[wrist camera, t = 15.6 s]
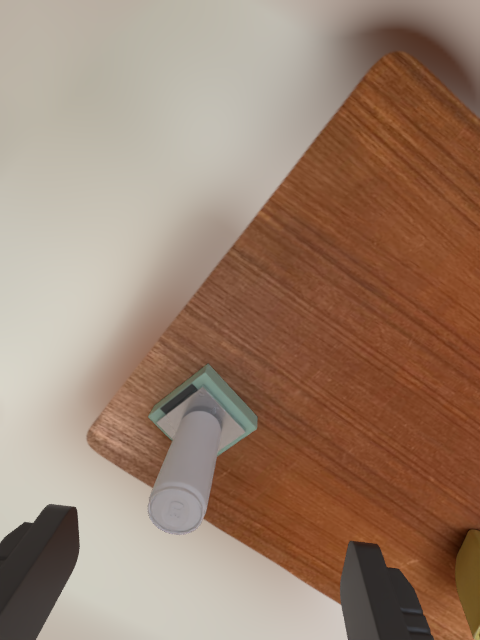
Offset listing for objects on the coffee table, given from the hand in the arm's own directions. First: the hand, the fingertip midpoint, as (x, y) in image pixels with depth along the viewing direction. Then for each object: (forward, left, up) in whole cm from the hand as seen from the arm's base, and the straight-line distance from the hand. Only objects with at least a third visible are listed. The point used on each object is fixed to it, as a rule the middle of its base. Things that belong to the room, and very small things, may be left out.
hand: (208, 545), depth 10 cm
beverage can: (+7, -13, -27) cm, 31 cm away
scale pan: (+7, -13, -27) cm, 31 cm away
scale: (+7, -13, -30) cm, 34 cm away
